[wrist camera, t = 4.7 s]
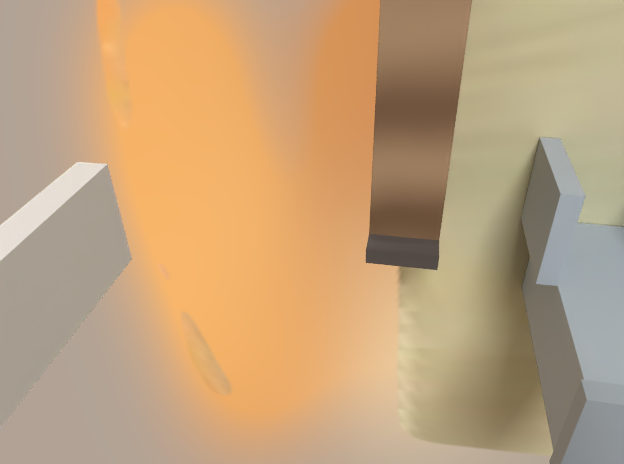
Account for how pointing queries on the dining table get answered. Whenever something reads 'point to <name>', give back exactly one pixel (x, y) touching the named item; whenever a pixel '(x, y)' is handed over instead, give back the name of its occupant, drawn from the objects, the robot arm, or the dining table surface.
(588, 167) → the dining table surface
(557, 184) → the grey notched block
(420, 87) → the rail
